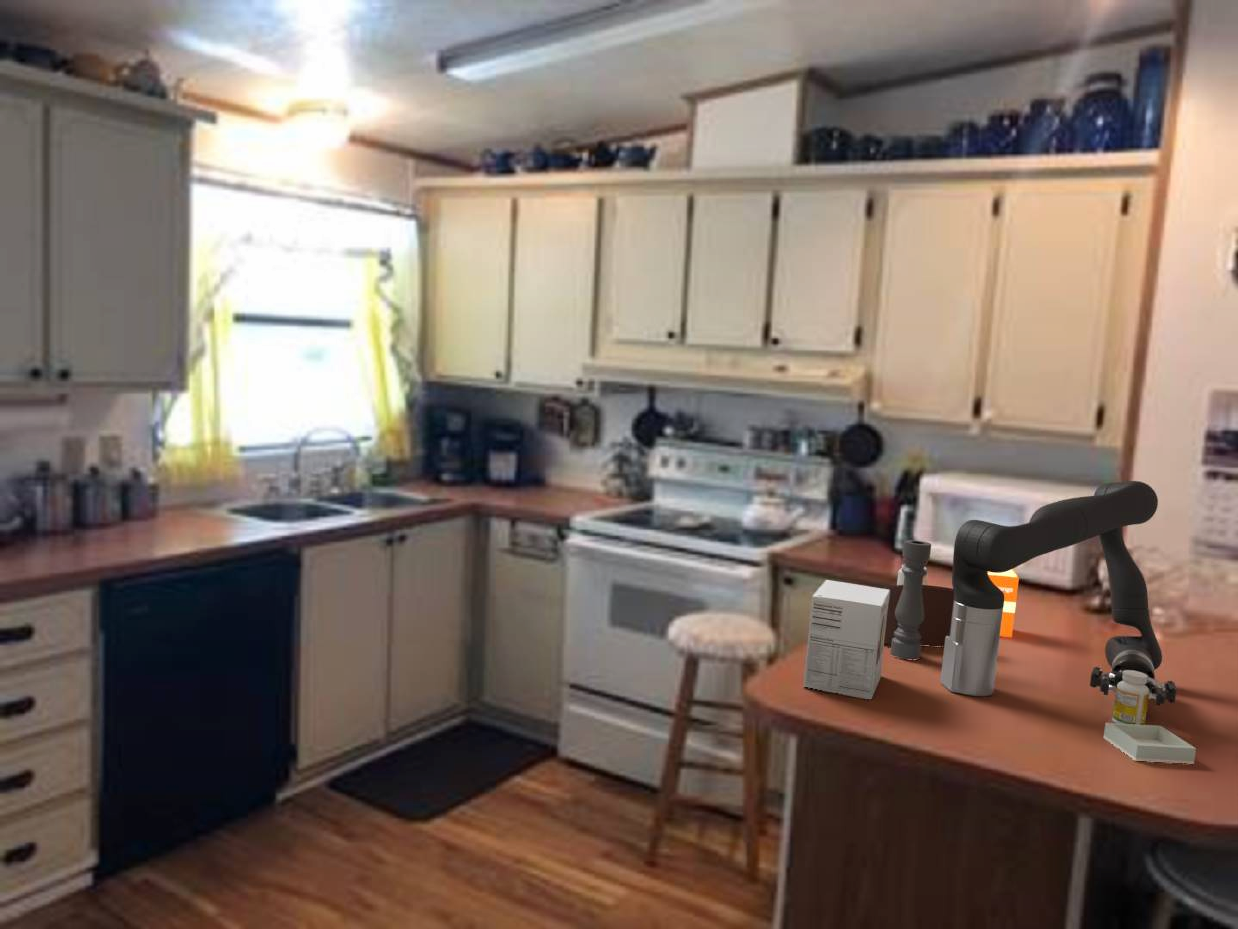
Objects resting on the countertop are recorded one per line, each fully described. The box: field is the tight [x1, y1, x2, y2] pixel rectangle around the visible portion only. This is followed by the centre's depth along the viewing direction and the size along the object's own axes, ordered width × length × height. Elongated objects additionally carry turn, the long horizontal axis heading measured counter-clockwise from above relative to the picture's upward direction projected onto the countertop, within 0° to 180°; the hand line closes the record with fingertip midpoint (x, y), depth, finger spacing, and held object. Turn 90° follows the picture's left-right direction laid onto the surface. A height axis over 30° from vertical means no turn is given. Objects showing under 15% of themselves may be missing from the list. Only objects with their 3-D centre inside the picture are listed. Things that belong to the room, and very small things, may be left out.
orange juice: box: [988, 568, 1020, 638], centre depth 244 cm, size 8×9×20 cm
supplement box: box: [803, 579, 890, 701], centre depth 196 cm, size 17×13×18 cm
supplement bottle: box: [1112, 670, 1150, 725], centre depth 184 cm, size 5×5×10 cm
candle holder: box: [889, 539, 932, 660], centre depth 216 cm, size 6×6×25 cm
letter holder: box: [881, 584, 954, 648], centre depth 230 cm, size 10×20×14 cm, turn 94°
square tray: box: [1103, 722, 1197, 765], centre depth 171 cm, size 10×10×3 cm
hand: (1132, 695), depth 182 cm, fingers open, 8 cm apart
